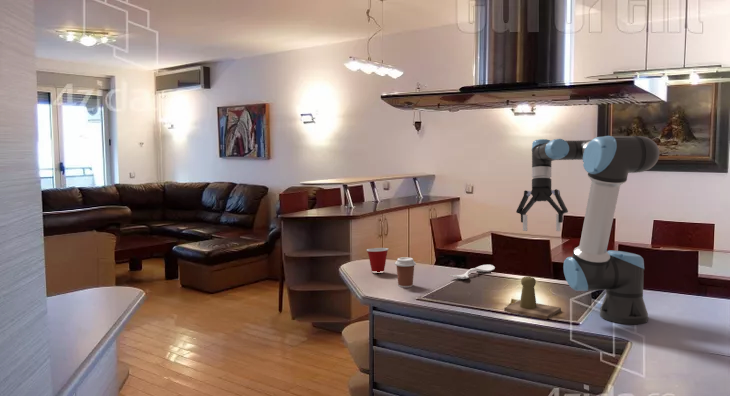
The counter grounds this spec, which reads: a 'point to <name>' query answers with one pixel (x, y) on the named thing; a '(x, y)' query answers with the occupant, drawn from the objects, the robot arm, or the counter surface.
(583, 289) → the robot arm
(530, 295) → the cork
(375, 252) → the plastic cup
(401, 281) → the coffee cup
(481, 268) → the spoon
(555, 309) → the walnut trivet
